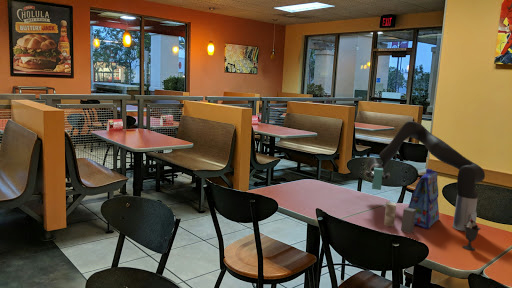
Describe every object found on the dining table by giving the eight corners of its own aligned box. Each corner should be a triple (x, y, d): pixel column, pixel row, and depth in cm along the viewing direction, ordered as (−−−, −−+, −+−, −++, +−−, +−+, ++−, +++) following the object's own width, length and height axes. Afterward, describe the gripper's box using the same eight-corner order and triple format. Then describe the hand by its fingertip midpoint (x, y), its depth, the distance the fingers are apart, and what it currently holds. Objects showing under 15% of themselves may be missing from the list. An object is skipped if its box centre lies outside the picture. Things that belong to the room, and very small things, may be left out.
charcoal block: (413, 230, 202) (416, 209, 200) (410, 233, 198) (412, 211, 197) (404, 228, 205) (406, 207, 203) (400, 230, 201) (403, 209, 199)
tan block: (393, 223, 210) (395, 203, 209) (393, 226, 206) (396, 205, 204) (384, 222, 212) (386, 201, 210) (384, 225, 207) (386, 204, 205)
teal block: (380, 187, 224) (382, 168, 222) (380, 189, 220) (383, 170, 218) (371, 186, 225) (374, 167, 223) (372, 188, 221) (374, 169, 219)
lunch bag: (429, 230, 205) (436, 174, 200) (401, 223, 213) (408, 168, 208) (439, 219, 222) (447, 167, 217) (414, 213, 230) (420, 163, 225)
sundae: (462, 244, 189) (467, 212, 186) (478, 248, 185) (483, 216, 182) (458, 248, 184) (463, 216, 181) (475, 252, 179) (480, 220, 177)
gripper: (364, 163, 236) (364, 169, 220) (390, 166, 233) (392, 172, 216) (363, 176, 237) (363, 183, 221) (389, 179, 234) (391, 186, 217)
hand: (377, 177), depth 219 cm, fingers closed on teal block, 4 cm apart
